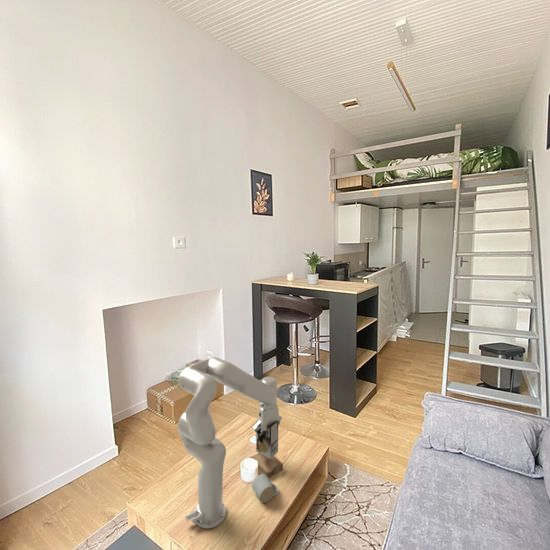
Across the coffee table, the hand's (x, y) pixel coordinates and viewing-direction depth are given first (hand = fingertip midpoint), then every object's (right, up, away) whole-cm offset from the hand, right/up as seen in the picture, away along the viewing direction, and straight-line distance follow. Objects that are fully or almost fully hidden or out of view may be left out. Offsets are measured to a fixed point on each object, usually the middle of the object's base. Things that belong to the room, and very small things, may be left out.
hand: (267, 438), depth 148 cm
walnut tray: (-1, -15, +1) cm, 15 cm away
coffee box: (0, -7, +1) cm, 7 cm away
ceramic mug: (0, -17, -15) cm, 23 cm away
